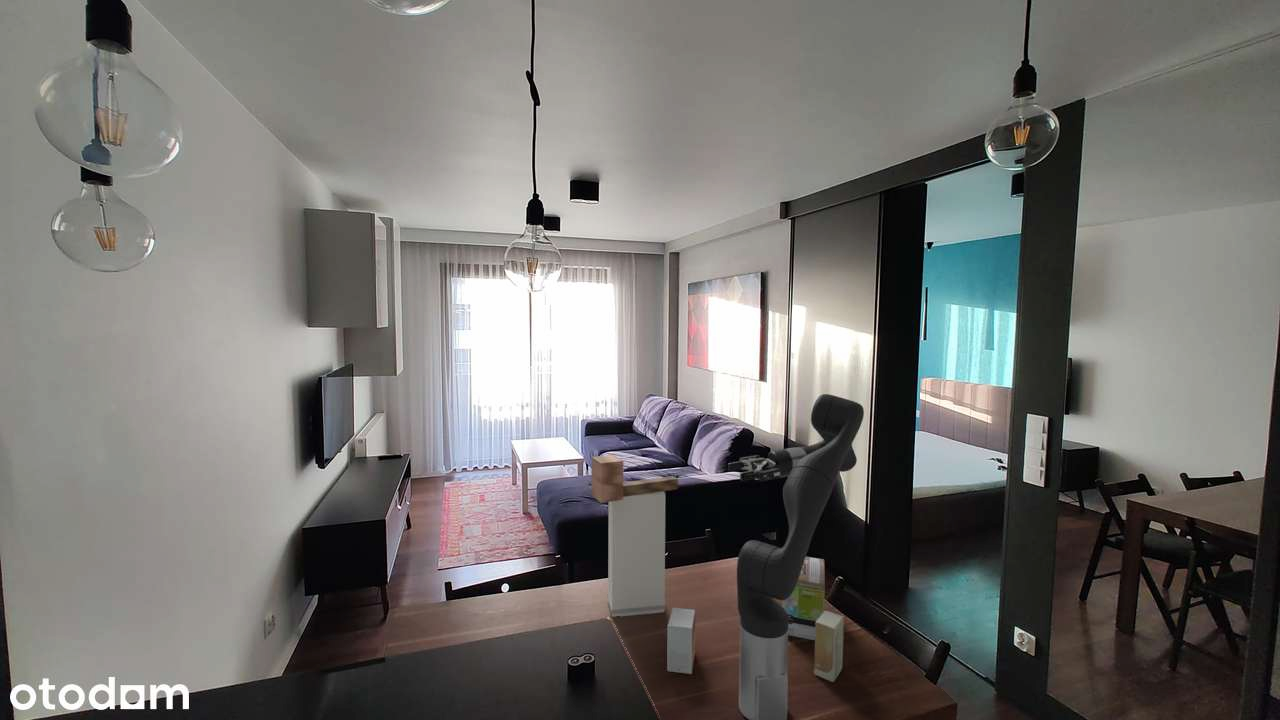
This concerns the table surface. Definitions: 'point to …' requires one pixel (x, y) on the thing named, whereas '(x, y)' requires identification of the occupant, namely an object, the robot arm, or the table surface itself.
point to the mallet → (611, 484)
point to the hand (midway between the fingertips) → (734, 472)
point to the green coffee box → (806, 599)
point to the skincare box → (828, 645)
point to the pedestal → (636, 555)
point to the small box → (681, 640)
